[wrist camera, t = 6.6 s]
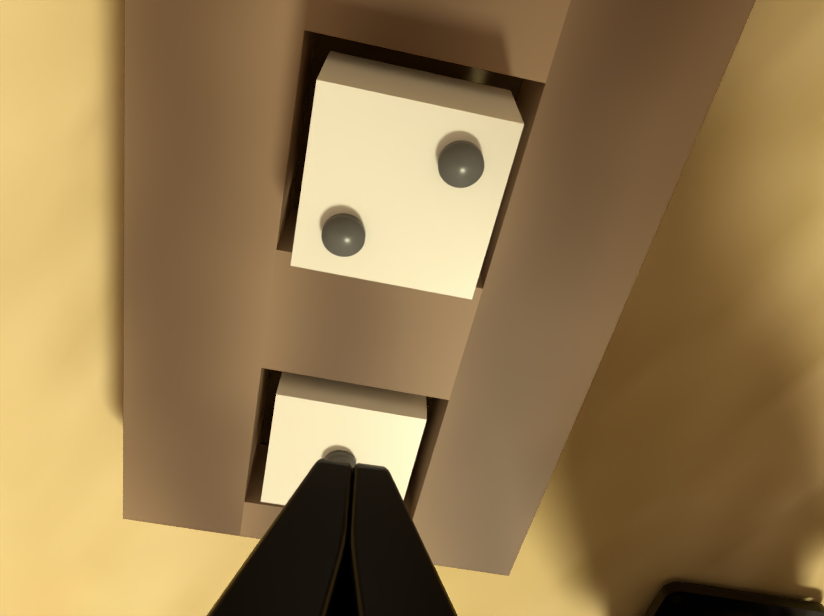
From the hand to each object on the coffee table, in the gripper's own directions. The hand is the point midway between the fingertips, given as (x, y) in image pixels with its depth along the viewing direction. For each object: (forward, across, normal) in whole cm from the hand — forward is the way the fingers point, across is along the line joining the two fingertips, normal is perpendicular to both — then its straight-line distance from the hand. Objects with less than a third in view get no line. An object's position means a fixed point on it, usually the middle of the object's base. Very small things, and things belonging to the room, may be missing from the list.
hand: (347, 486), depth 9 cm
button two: (+10, 0, -1) cm, 10 cm away
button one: (+11, 0, +8) cm, 13 cm away
